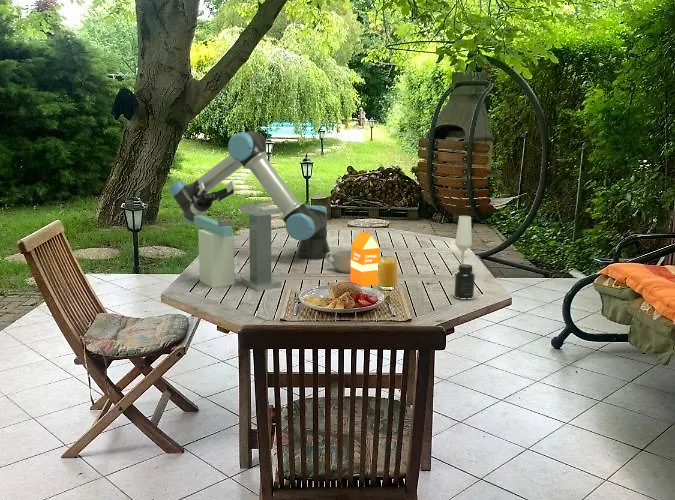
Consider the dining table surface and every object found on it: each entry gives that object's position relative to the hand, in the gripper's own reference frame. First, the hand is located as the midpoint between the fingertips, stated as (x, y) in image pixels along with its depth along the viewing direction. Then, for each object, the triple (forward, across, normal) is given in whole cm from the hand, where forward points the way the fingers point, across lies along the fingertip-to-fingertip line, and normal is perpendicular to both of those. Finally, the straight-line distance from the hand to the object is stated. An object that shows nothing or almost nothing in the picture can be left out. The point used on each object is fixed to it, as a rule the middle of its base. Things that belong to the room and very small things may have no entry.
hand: (218, 184), depth 267 cm
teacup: (+13, -38, -48) cm, 63 cm away
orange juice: (+30, -35, -58) cm, 74 cm away
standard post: (+14, +1, -48) cm, 50 cm away
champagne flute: (+39, -77, -64) cm, 108 cm away
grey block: (+4, +14, -42) cm, 45 cm away
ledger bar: (+12, +13, -24) cm, 30 cm away
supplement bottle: (+60, -53, -76) cm, 111 cm away
